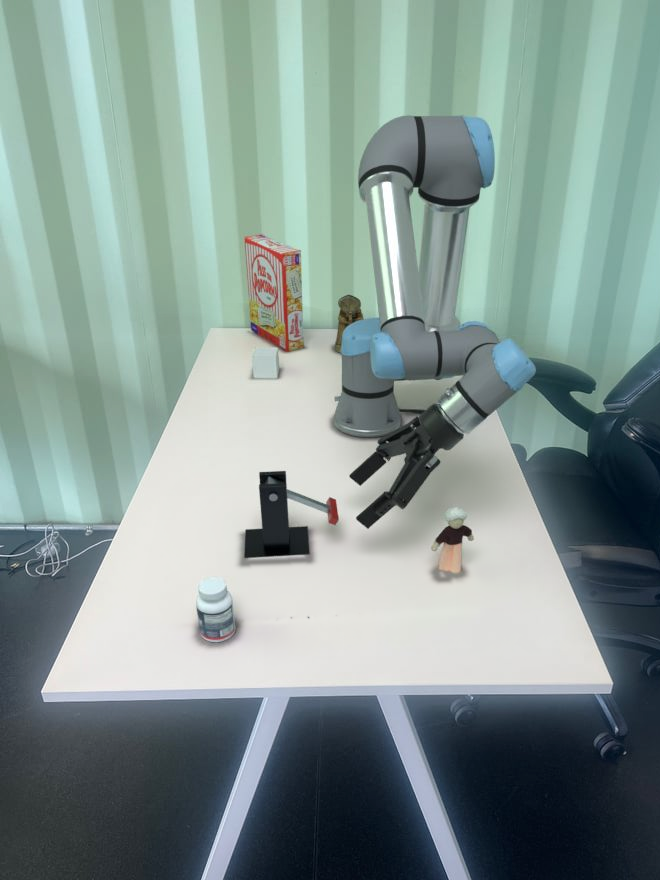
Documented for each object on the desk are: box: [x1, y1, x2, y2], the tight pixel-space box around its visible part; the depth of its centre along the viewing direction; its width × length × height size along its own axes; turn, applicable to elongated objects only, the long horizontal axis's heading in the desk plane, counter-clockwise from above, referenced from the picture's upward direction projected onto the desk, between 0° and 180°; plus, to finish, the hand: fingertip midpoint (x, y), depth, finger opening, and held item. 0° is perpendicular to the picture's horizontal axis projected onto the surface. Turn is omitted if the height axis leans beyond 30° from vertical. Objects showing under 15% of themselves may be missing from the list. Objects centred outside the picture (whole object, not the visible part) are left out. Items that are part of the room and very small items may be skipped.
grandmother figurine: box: [430, 506, 475, 574], centre depth 124 cm, size 8×4×13 cm, turn 126°
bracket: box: [243, 470, 311, 559], centre depth 128 cm, size 11×8×14 cm
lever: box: [265, 477, 339, 526], centre depth 127 cm, size 13×6×2 cm, turn 98°
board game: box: [243, 233, 305, 353], centre depth 210 cm, size 20×6×27 cm, turn 37°
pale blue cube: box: [251, 346, 280, 379], centre depth 195 cm, size 6×6×6 cm
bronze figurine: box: [334, 294, 364, 354], centre depth 206 cm, size 9×14×18 cm, turn 179°
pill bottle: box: [195, 576, 237, 643], centre depth 111 cm, size 5×5×9 cm
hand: (358, 501), depth 129 cm, fingers open, 13 cm apart
